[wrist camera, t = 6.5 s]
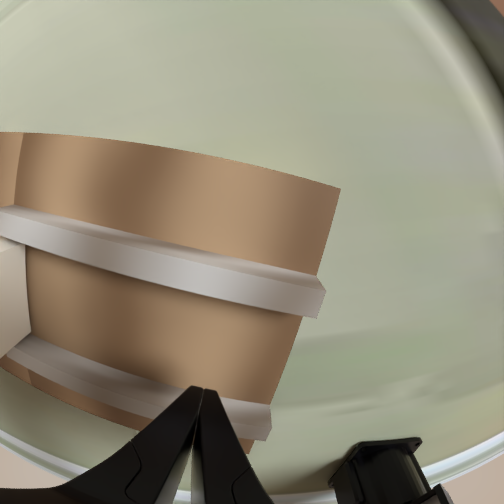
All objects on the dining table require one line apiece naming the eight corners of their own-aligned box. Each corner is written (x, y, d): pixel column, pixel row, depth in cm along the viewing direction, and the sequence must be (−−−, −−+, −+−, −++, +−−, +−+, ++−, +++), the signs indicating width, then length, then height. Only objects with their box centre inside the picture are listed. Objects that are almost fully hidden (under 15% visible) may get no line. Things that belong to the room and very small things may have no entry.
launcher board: (320, 186, 13) (355, 190, 8) (248, 417, 16) (248, 474, 12) (-16, 134, 11) (-64, 133, 7) (-15, 323, 15) (-49, 349, 10)
